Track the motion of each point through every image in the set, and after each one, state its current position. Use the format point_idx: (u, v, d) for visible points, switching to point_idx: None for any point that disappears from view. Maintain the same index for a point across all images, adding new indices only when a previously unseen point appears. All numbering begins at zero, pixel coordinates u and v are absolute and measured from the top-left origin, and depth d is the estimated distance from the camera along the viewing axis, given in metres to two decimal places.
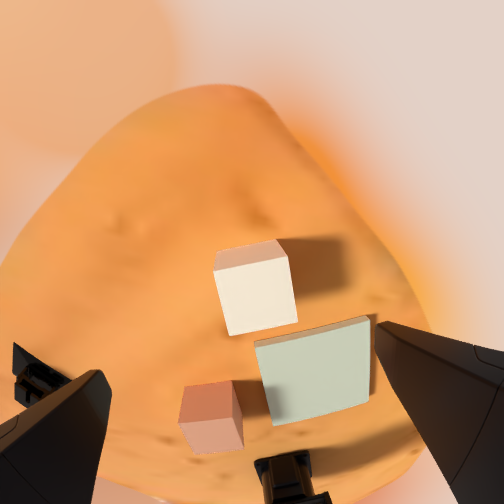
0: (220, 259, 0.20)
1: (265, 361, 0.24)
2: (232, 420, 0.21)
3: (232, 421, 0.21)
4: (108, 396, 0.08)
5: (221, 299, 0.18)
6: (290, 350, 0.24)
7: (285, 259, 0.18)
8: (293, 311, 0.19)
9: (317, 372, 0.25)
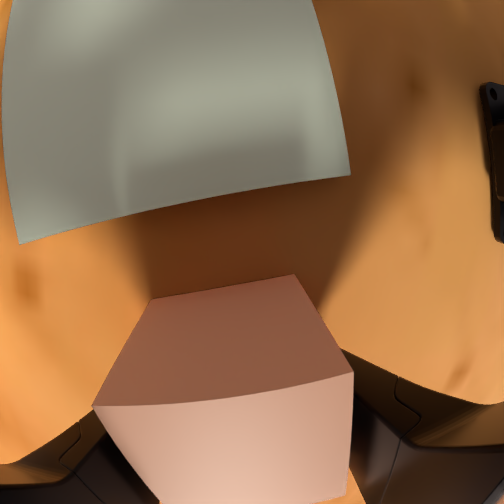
0: None
1: (49, 213, 0.07)
2: (110, 409, 0.04)
3: (116, 410, 0.04)
4: None
5: None
6: (24, 147, 0.07)
7: None
8: None
9: (105, 48, 0.06)
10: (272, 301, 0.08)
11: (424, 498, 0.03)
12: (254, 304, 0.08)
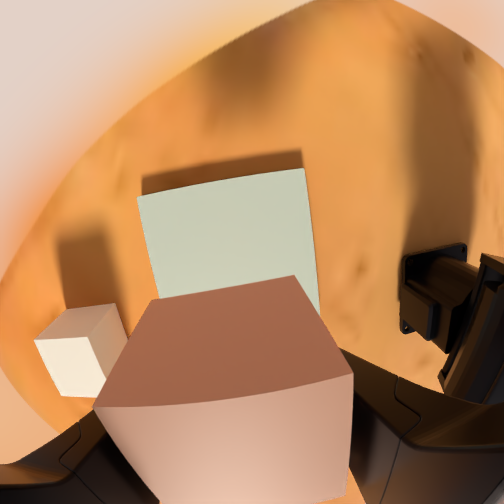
0: None
1: None
2: (111, 410, 0.04)
3: (117, 411, 0.04)
4: None
5: (81, 395, 0.16)
6: None
7: (36, 341, 0.15)
8: (77, 340, 0.15)
9: (218, 267, 0.18)
10: (272, 302, 0.08)
11: (423, 499, 0.03)
12: (254, 305, 0.08)
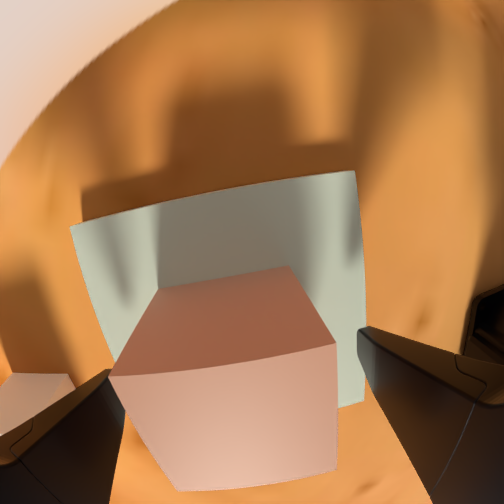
0: None
1: None
2: (125, 379, 0.05)
3: (130, 379, 0.05)
4: None
5: None
6: None
7: None
8: None
9: None
10: (268, 288, 0.08)
11: (496, 456, 0.03)
12: (252, 291, 0.08)
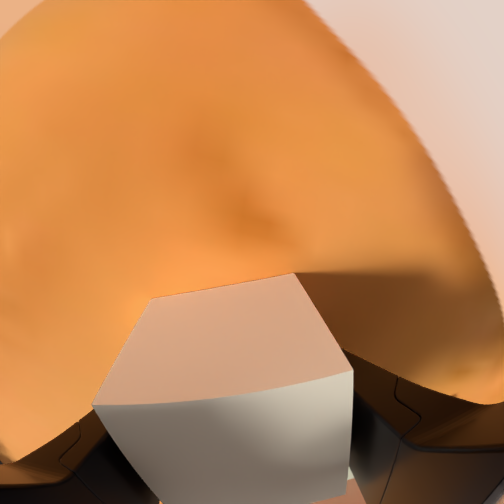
0: (139, 340, 0.07)
1: None
2: None
3: None
4: None
5: (135, 466, 0.05)
6: None
7: (344, 380, 0.04)
8: (339, 482, 0.05)
9: None
10: None
11: (424, 498, 0.03)
12: None
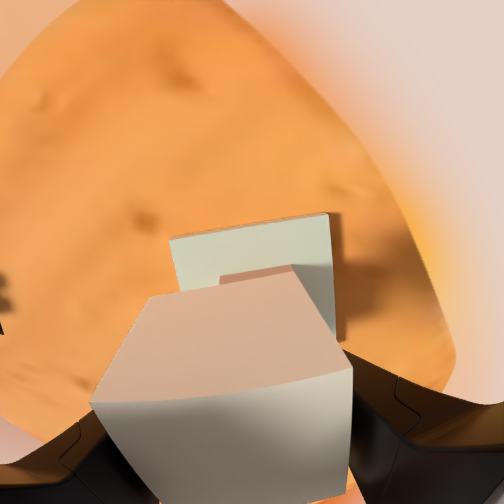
0: (137, 337, 0.06)
1: (183, 263, 0.19)
2: None
3: None
4: None
5: (133, 464, 0.05)
6: (216, 248, 0.19)
7: (343, 377, 0.04)
8: (339, 481, 0.05)
9: None
10: None
11: (423, 499, 0.03)
12: None
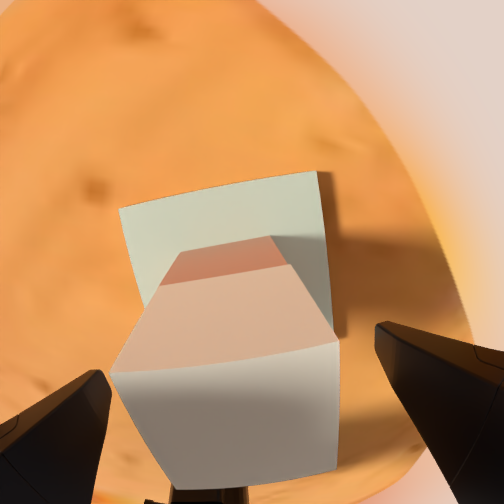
0: (150, 319, 0.07)
1: (136, 236, 0.14)
2: None
3: None
4: (108, 396, 0.08)
5: (143, 434, 0.06)
6: (174, 216, 0.14)
7: (331, 350, 0.05)
8: (330, 455, 0.06)
9: None
10: None
11: None
12: None
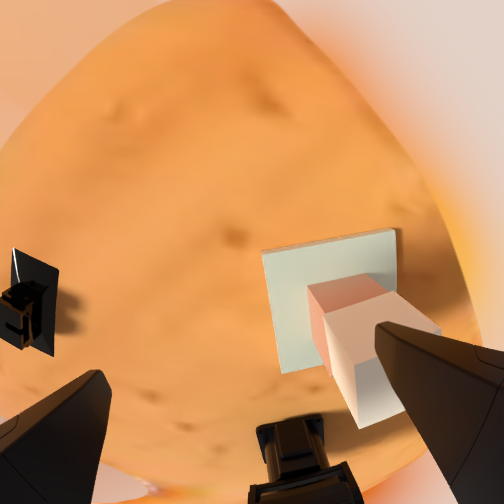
0: (344, 335, 0.14)
1: (275, 275, 0.21)
2: None
3: None
4: (108, 396, 0.08)
5: (358, 395, 0.12)
6: (305, 261, 0.21)
7: (438, 333, 0.11)
8: None
9: None
10: None
11: None
12: None
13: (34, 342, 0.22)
